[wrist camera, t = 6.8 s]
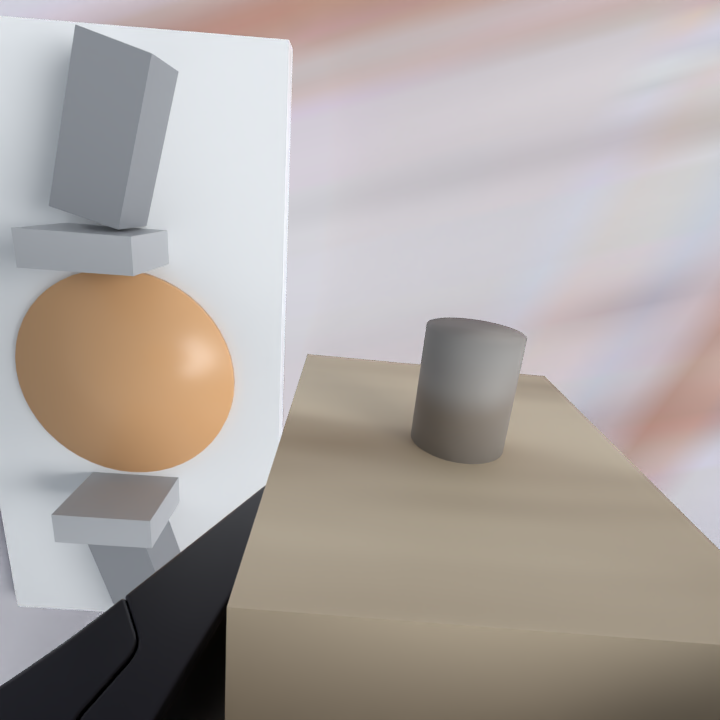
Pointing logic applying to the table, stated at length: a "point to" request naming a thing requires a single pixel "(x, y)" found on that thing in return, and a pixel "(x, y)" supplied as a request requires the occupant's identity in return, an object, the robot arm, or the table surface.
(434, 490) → the block
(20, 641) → the table surface
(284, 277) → the shaft board
